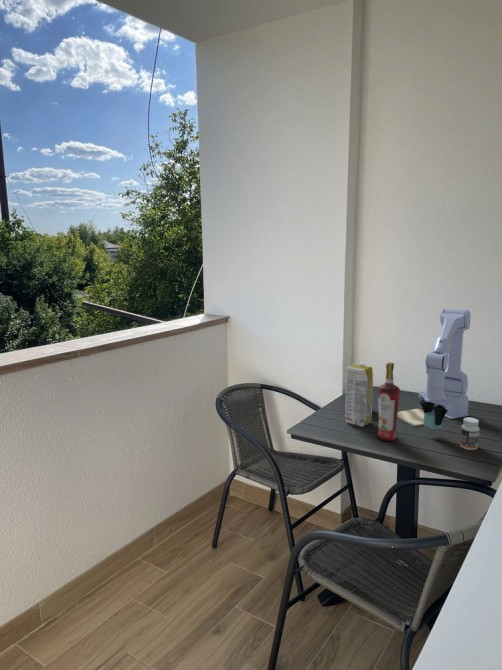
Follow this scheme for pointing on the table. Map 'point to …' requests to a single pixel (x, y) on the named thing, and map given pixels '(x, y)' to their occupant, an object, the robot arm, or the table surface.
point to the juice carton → (358, 394)
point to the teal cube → (431, 420)
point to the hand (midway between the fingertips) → (433, 422)
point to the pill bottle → (469, 434)
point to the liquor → (388, 406)
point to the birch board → (412, 417)
